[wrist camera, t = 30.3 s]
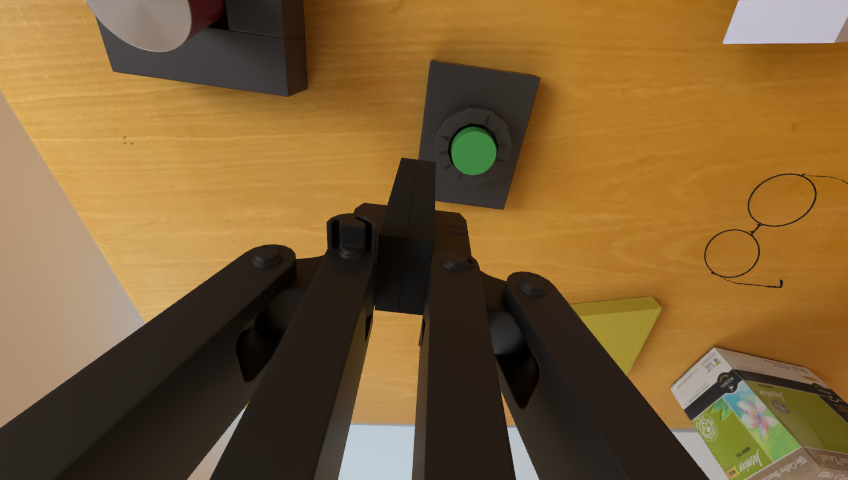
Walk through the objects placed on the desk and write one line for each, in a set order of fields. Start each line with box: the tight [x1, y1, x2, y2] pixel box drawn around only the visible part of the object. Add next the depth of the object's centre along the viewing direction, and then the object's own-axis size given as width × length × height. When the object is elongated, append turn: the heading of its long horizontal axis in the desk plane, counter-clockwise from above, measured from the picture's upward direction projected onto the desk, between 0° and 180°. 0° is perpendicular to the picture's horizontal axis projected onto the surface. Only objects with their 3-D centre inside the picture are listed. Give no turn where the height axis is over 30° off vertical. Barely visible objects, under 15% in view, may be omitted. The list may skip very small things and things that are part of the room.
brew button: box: [451, 127, 496, 175], centre depth 28 cm, size 4×4×2 cm
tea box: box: [671, 347, 848, 480], centre depth 41 cm, size 15×10×15 cm, turn 75°
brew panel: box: [418, 60, 540, 210], centre depth 30 cm, size 12×9×4 cm
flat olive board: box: [569, 296, 662, 376], centre depth 44 cm, size 12×2×24 cm
